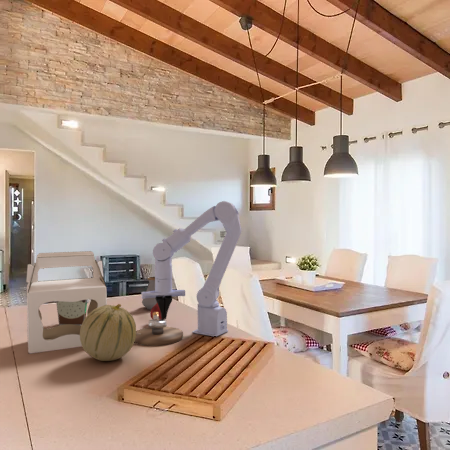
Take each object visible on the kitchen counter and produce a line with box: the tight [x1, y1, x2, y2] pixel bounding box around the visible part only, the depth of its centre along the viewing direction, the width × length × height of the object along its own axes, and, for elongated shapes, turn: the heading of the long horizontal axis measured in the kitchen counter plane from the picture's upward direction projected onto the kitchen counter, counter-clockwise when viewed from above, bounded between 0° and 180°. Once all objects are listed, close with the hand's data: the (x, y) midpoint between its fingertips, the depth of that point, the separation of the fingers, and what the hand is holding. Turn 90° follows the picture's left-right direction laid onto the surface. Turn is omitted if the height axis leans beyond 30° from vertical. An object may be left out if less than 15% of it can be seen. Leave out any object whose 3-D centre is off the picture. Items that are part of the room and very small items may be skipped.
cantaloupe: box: [80, 303, 137, 362], centre depth 111 cm, size 15×15×15 cm
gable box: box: [25, 250, 108, 354], centre depth 127 cm, size 22×13×28 cm, turn 117°
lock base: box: [134, 326, 184, 346], centre depth 131 cm, size 16×16×4 cm
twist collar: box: [148, 312, 168, 328], centre depth 135 cm, size 14×6×2 cm, turn 13°
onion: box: [149, 303, 162, 320], centre depth 149 cm, size 6×6×8 cm
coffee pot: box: [141, 276, 174, 311], centre depth 171 cm, size 21×12×15 cm, turn 32°
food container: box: [54, 299, 90, 326], centre depth 151 cm, size 12×6×10 cm, turn 84°
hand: (163, 318), depth 139 cm, fingers closed
